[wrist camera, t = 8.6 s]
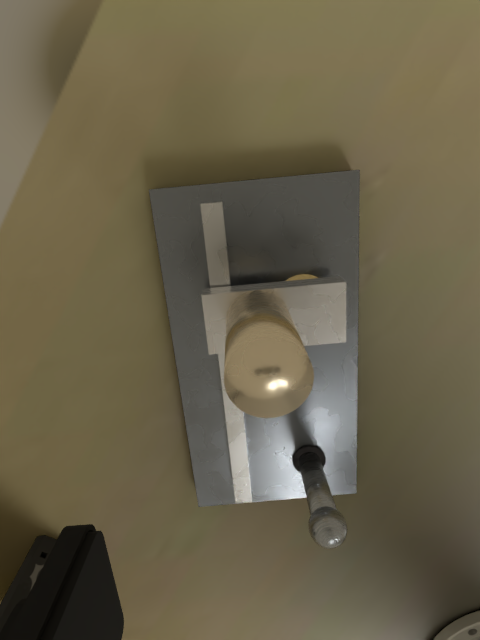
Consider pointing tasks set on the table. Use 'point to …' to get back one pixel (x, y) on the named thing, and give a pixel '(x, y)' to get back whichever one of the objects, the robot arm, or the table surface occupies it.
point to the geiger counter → (26, 576)
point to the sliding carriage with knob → (272, 338)
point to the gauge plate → (327, 359)
